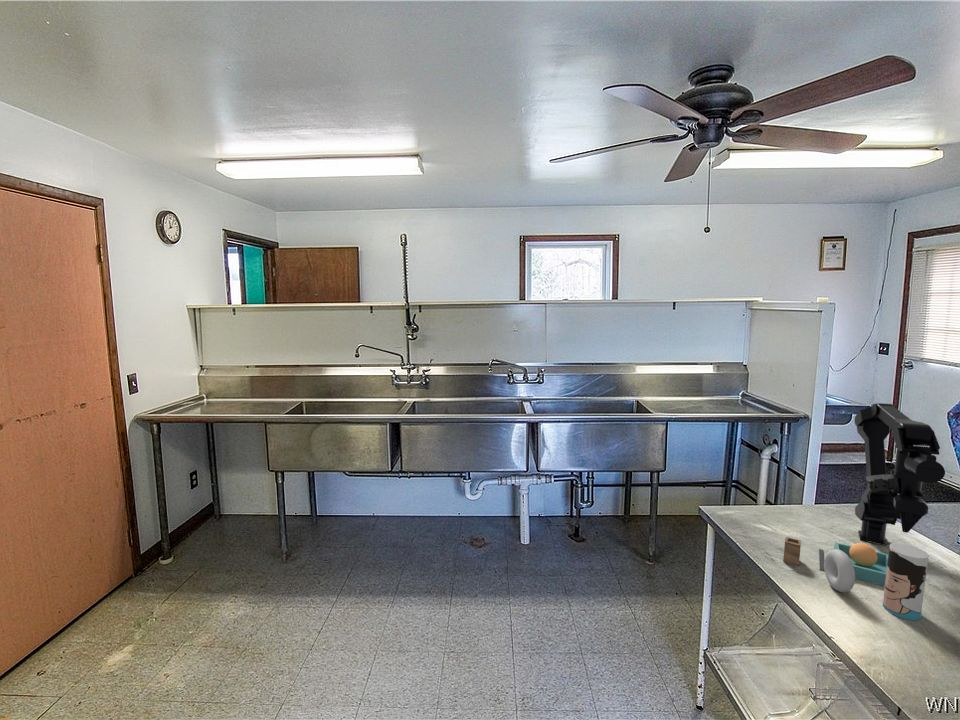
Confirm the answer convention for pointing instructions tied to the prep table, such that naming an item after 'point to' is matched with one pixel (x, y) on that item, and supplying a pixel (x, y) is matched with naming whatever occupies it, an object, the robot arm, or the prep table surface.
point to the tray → (869, 573)
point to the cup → (905, 581)
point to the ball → (863, 554)
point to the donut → (839, 570)
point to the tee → (792, 551)
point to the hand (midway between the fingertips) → (902, 525)
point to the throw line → (821, 559)
